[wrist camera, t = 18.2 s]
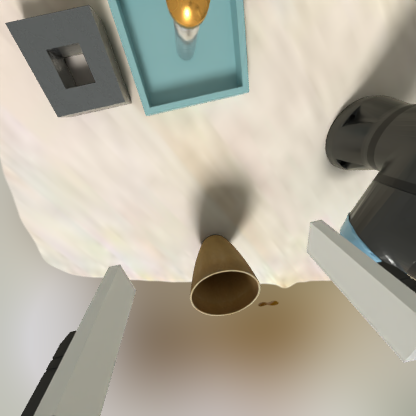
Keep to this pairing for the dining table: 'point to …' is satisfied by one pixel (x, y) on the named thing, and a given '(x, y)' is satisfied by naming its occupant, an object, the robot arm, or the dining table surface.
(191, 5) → the pin
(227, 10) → the tray
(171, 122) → the dining table surface
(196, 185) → the dining table surface
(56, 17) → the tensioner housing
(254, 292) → the plant pot
